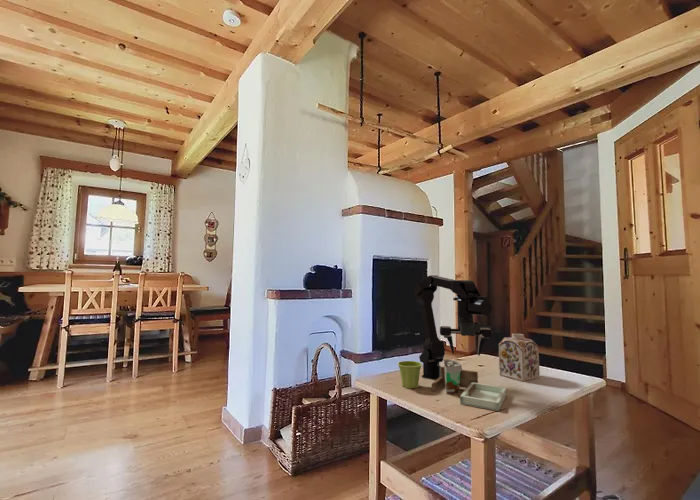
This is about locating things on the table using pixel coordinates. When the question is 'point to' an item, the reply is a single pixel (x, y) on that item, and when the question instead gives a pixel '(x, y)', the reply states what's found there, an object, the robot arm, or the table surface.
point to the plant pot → (410, 373)
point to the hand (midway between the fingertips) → (465, 354)
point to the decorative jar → (519, 358)
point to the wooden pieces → (465, 380)
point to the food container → (452, 376)
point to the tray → (484, 396)
